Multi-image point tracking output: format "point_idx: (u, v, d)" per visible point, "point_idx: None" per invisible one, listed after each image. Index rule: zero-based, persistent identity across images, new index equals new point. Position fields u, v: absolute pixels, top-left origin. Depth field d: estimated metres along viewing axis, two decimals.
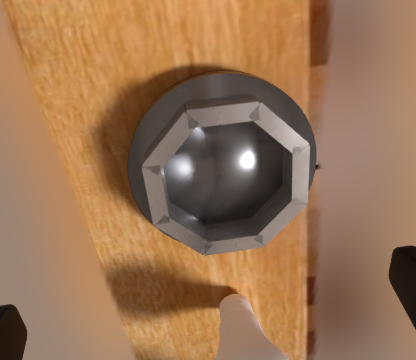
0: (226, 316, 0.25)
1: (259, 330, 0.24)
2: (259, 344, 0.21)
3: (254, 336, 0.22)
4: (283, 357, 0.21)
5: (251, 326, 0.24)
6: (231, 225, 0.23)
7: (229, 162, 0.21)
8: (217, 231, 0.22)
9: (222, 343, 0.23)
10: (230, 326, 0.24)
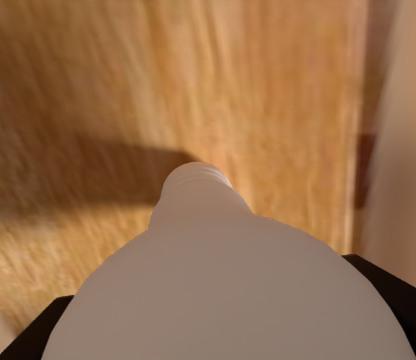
0: None
1: (250, 212, 0.08)
2: (246, 214, 0.06)
3: None
4: (335, 252, 0.05)
5: (227, 201, 0.08)
6: None
7: None
8: None
9: None
10: (169, 205, 0.09)
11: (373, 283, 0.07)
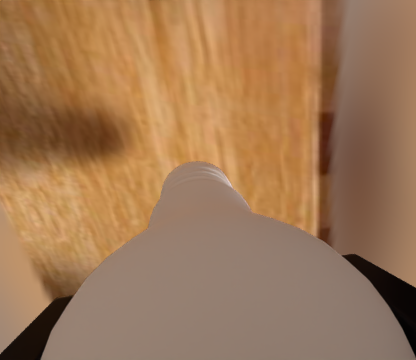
0: None
1: (249, 212, 0.08)
2: (246, 213, 0.06)
3: (232, 209, 0.07)
4: (334, 251, 0.05)
5: (227, 201, 0.08)
6: None
7: None
8: None
9: None
10: (169, 205, 0.09)
11: (373, 283, 0.07)
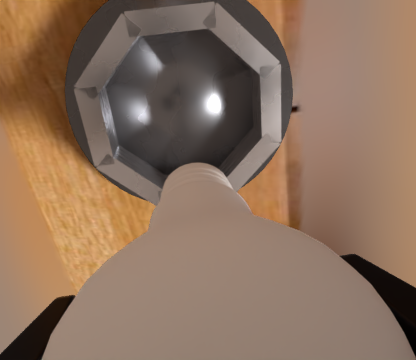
0: None
1: (250, 213, 0.08)
2: (247, 216, 0.06)
3: (233, 211, 0.07)
4: (336, 254, 0.05)
5: (228, 203, 0.08)
6: None
7: (188, 95, 0.18)
8: None
9: None
10: (169, 206, 0.09)
11: (373, 283, 0.07)
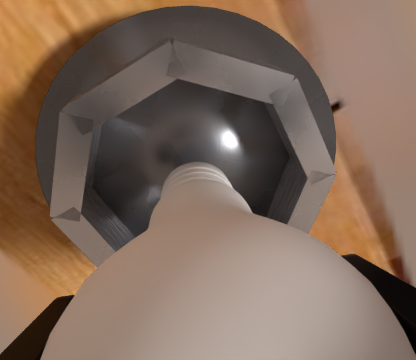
0: None
1: (250, 212, 0.08)
2: (247, 215, 0.06)
3: (232, 210, 0.07)
4: (336, 253, 0.05)
5: (227, 202, 0.08)
6: None
7: (192, 156, 0.13)
8: None
9: None
10: (169, 205, 0.09)
11: (373, 283, 0.07)
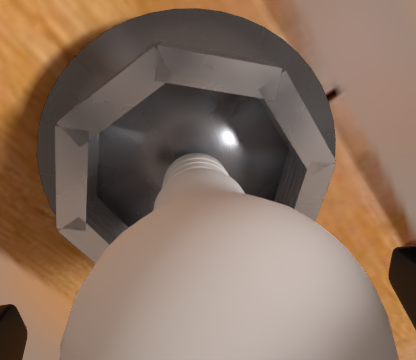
0: (169, 182, 0.11)
1: None
2: (242, 194, 0.07)
3: None
4: (318, 225, 0.06)
5: (225, 187, 0.09)
6: None
7: None
8: None
9: None
10: (172, 191, 0.09)
11: None
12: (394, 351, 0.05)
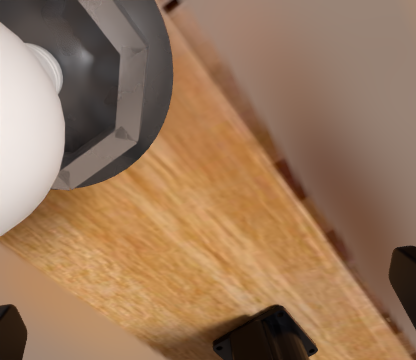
0: None
1: None
2: None
3: None
4: None
5: None
6: (96, 137, 0.16)
7: None
8: (77, 153, 0.16)
9: None
10: None
11: None
12: None
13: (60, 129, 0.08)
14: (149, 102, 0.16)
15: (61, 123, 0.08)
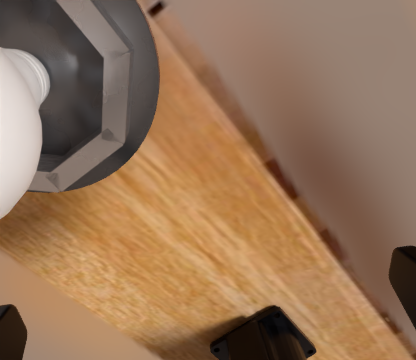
0: None
1: None
2: None
3: None
4: None
5: None
6: (85, 140, 0.16)
7: None
8: (66, 156, 0.16)
9: None
10: None
11: None
12: None
13: (35, 129, 0.09)
14: (136, 104, 0.16)
15: (35, 123, 0.09)
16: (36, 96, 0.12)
